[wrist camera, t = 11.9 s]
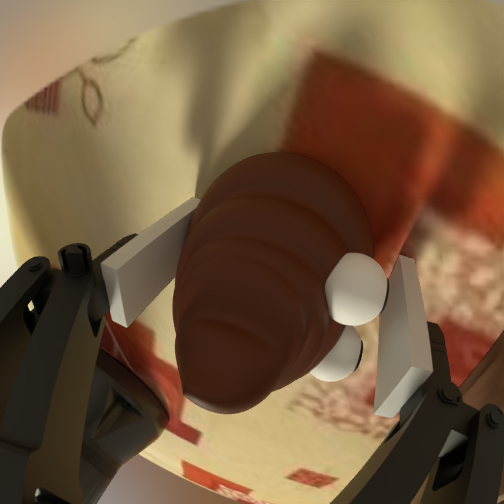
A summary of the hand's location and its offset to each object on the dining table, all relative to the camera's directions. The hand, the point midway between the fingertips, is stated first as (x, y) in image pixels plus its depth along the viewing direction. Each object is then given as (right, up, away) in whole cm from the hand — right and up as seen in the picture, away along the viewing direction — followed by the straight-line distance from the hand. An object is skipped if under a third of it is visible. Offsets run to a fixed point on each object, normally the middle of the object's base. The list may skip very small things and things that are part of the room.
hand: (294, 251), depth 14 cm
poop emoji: (0, 0, +1) cm, 1 cm away
